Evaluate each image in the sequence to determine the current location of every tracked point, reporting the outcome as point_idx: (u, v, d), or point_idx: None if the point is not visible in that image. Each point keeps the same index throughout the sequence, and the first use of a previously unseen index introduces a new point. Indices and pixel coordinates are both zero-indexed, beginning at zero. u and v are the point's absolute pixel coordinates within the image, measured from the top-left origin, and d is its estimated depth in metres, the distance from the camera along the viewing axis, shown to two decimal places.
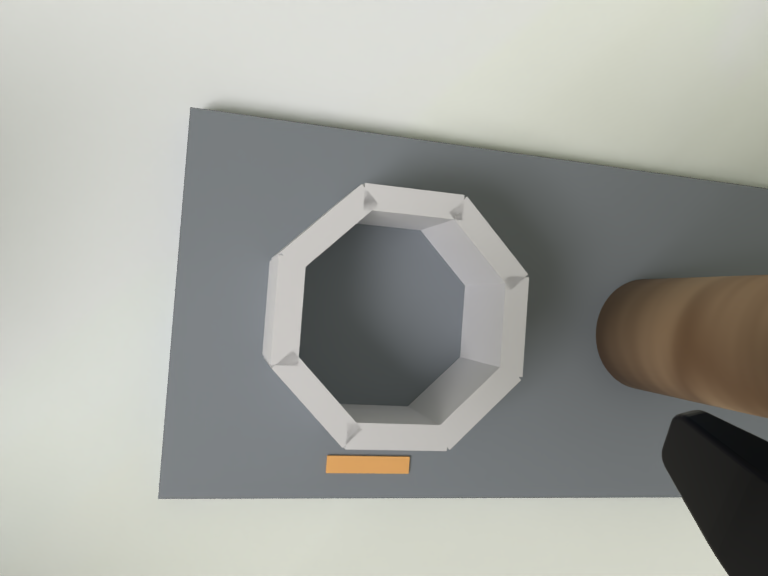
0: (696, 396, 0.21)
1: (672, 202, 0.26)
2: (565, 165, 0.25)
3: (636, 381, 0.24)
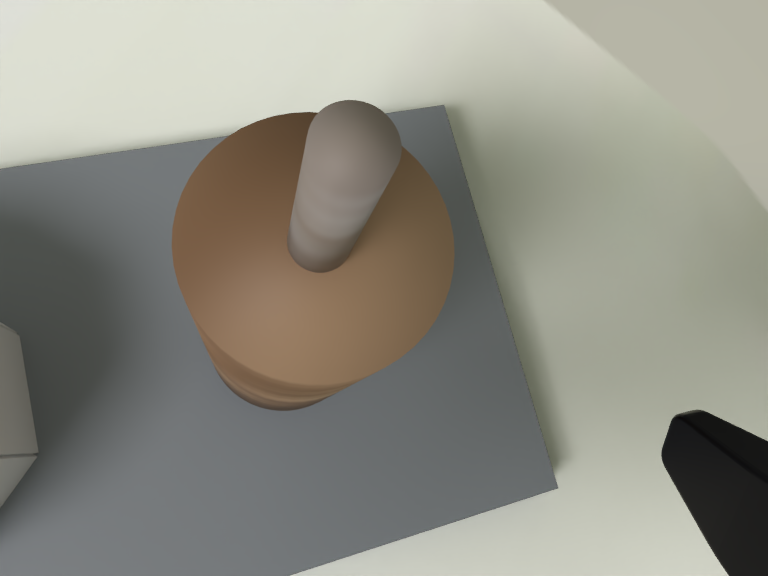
0: (262, 397, 0.14)
1: None
2: (105, 160, 0.19)
3: (255, 402, 0.17)
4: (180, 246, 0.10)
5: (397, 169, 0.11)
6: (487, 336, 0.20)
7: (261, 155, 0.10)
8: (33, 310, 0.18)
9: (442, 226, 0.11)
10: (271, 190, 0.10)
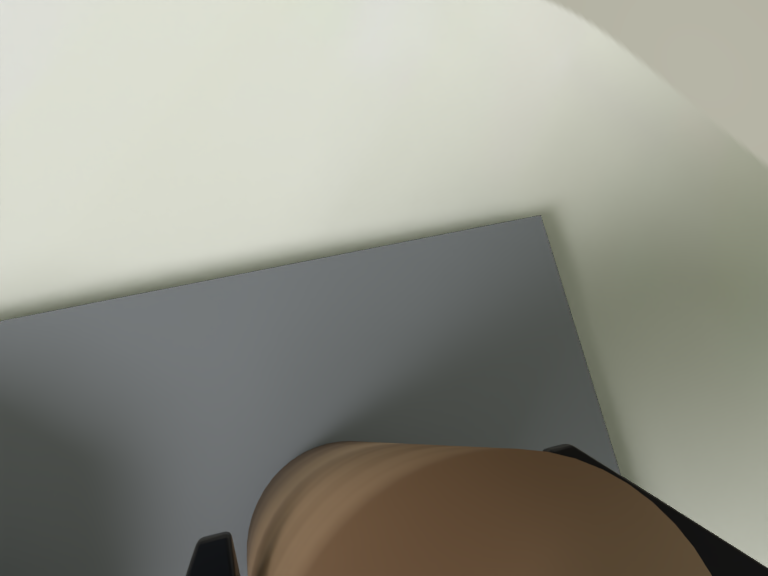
0: None
1: (330, 301, 0.16)
2: (110, 308, 0.15)
3: None
4: None
5: (644, 548, 0.06)
6: None
7: (411, 551, 0.06)
8: (12, 527, 0.13)
9: None
10: None
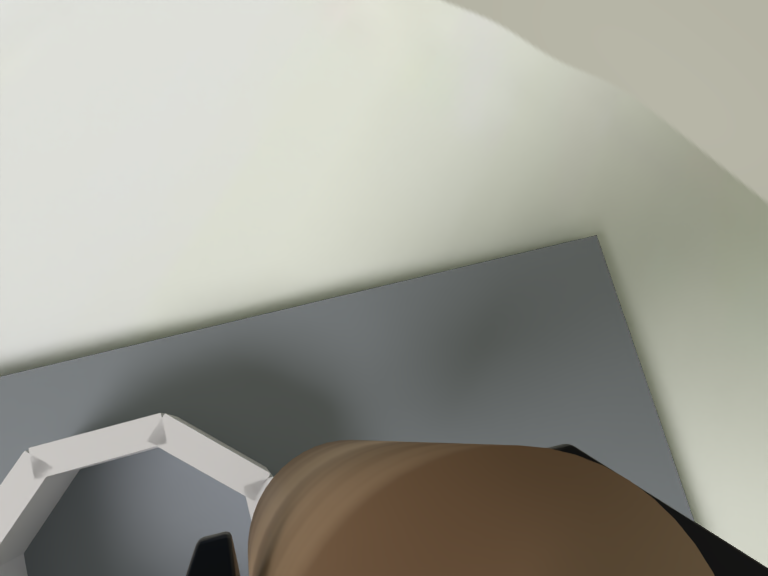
0: None
1: (460, 298, 0.23)
2: (322, 306, 0.22)
3: None
4: None
5: (645, 545, 0.06)
6: (647, 446, 0.23)
7: (413, 547, 0.06)
8: (277, 446, 0.21)
9: None
10: None
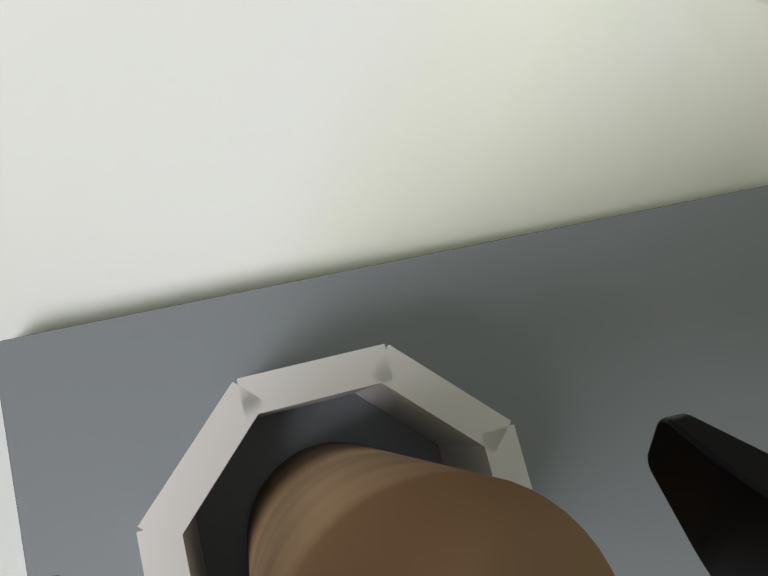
0: None
1: (661, 242, 0.20)
2: (512, 243, 0.19)
3: None
4: None
5: (559, 549, 0.08)
6: None
7: (378, 552, 0.07)
8: None
9: None
10: None
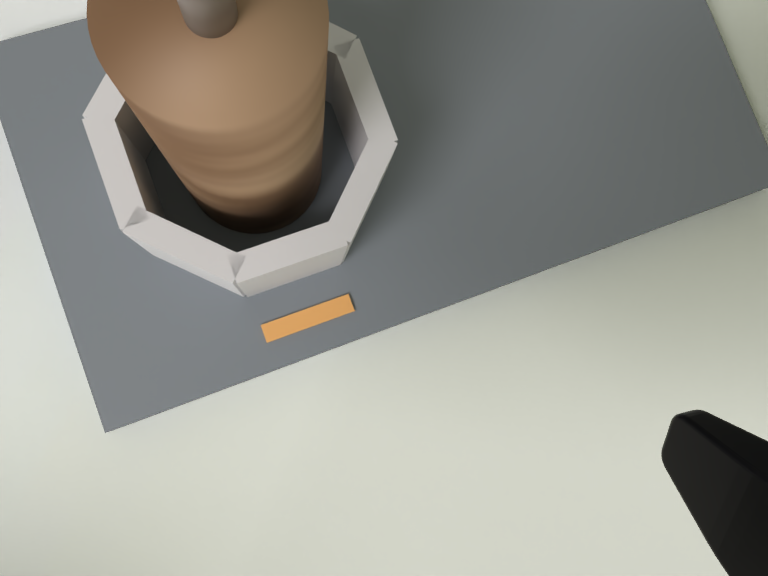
0: (219, 196, 0.17)
1: None
2: None
3: (229, 220, 0.20)
4: (95, 27, 0.12)
5: None
6: (710, 64, 0.24)
7: None
8: None
9: None
10: None
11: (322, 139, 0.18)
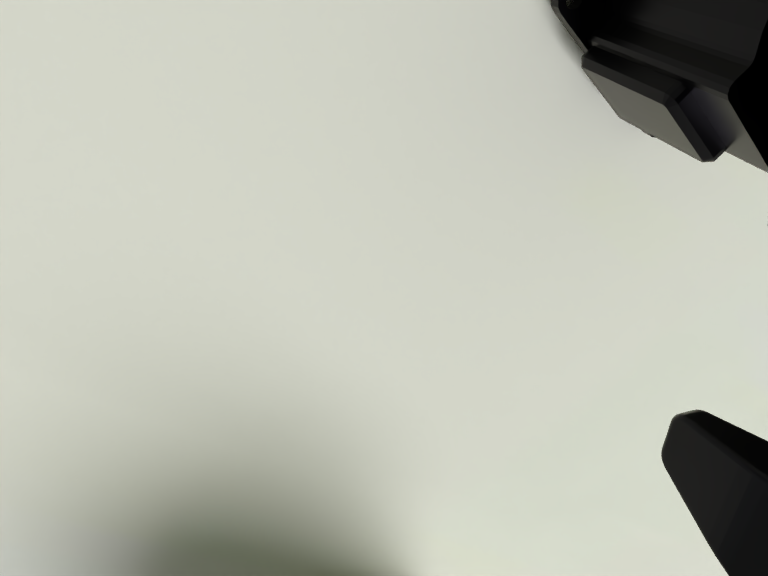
0: None
1: None
2: None
3: None
4: None
5: None
6: None
7: None
8: None
9: None
10: None
11: None
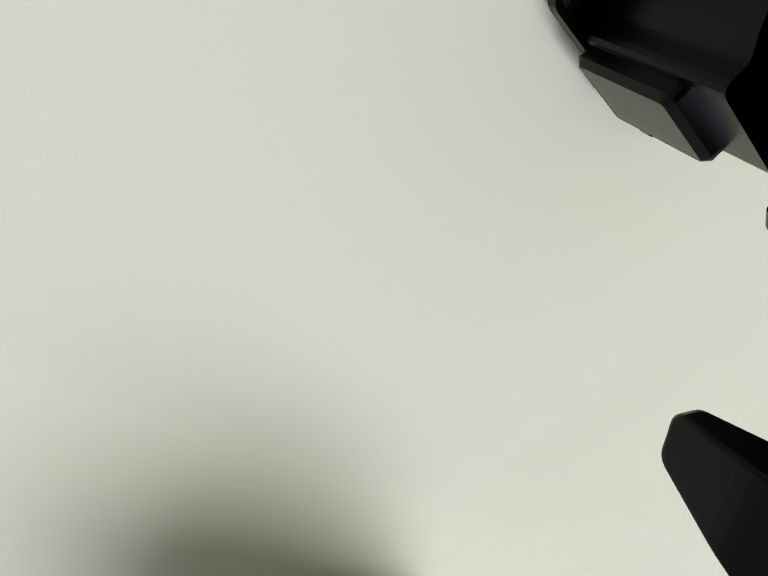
0: None
1: None
2: None
3: None
4: None
5: None
6: None
7: None
8: None
9: None
10: None
11: None
